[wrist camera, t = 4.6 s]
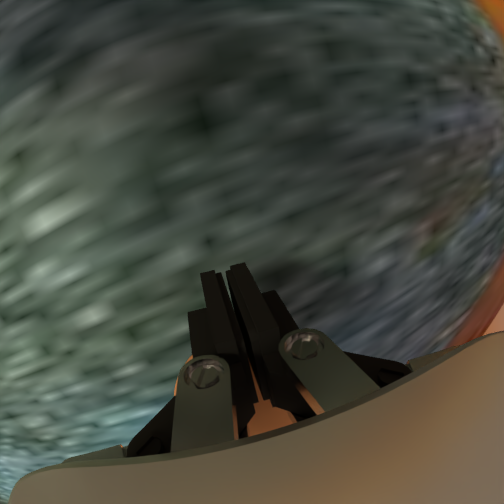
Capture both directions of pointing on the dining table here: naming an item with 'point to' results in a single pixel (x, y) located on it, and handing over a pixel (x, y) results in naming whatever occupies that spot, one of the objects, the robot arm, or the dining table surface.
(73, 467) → the robot arm
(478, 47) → the dining table surface
